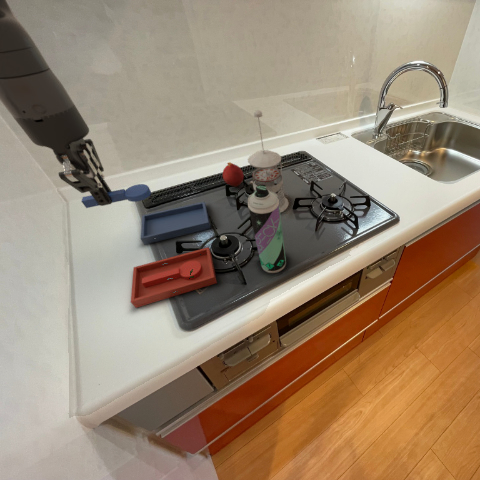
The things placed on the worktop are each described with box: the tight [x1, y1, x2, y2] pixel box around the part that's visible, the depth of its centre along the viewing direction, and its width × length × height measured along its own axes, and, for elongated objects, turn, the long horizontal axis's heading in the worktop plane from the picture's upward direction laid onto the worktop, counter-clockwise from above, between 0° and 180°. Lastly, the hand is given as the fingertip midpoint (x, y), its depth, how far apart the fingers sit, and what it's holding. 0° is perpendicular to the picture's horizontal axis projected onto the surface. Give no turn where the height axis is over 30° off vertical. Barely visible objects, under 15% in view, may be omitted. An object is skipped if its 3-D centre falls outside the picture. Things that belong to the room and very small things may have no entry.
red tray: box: [130, 247, 218, 309], centre depth 56 cm, size 15×9×2 cm, turn 113°
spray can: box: [247, 185, 287, 274], centre depth 53 cm, size 6×6×20 cm
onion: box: [222, 161, 245, 188], centre depth 79 cm, size 6×6×8 cm
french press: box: [247, 109, 290, 214], centre depth 68 cm, size 10×12×25 cm
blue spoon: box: [80, 183, 152, 209], centre depth 53 cm, size 11×4×2 cm, turn 113°
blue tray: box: [140, 201, 212, 246], centre depth 68 cm, size 15×9×2 cm, turn 113°
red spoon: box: [142, 261, 202, 288], centre depth 56 cm, size 11×4×2 cm, turn 113°
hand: (107, 200), depth 52 cm, fingers closed on blue spoon, 1 cm apart
